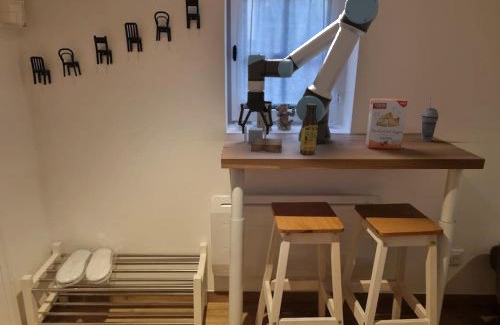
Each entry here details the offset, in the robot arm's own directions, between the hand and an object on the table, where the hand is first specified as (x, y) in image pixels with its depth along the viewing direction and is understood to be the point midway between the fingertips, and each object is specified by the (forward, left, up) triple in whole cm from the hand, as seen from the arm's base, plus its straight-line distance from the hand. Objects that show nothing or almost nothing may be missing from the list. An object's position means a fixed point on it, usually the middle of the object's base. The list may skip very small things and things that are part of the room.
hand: (255, 141), depth 168 cm
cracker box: (-56, +2, -1) cm, 56 cm away
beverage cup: (-80, -16, -1) cm, 82 cm away
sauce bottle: (-23, +18, -1) cm, 29 cm away
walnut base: (-6, +12, 0) cm, 14 cm away
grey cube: (0, 0, 0) cm, 0 cm away
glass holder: (-1, -27, -1) cm, 27 cm away
